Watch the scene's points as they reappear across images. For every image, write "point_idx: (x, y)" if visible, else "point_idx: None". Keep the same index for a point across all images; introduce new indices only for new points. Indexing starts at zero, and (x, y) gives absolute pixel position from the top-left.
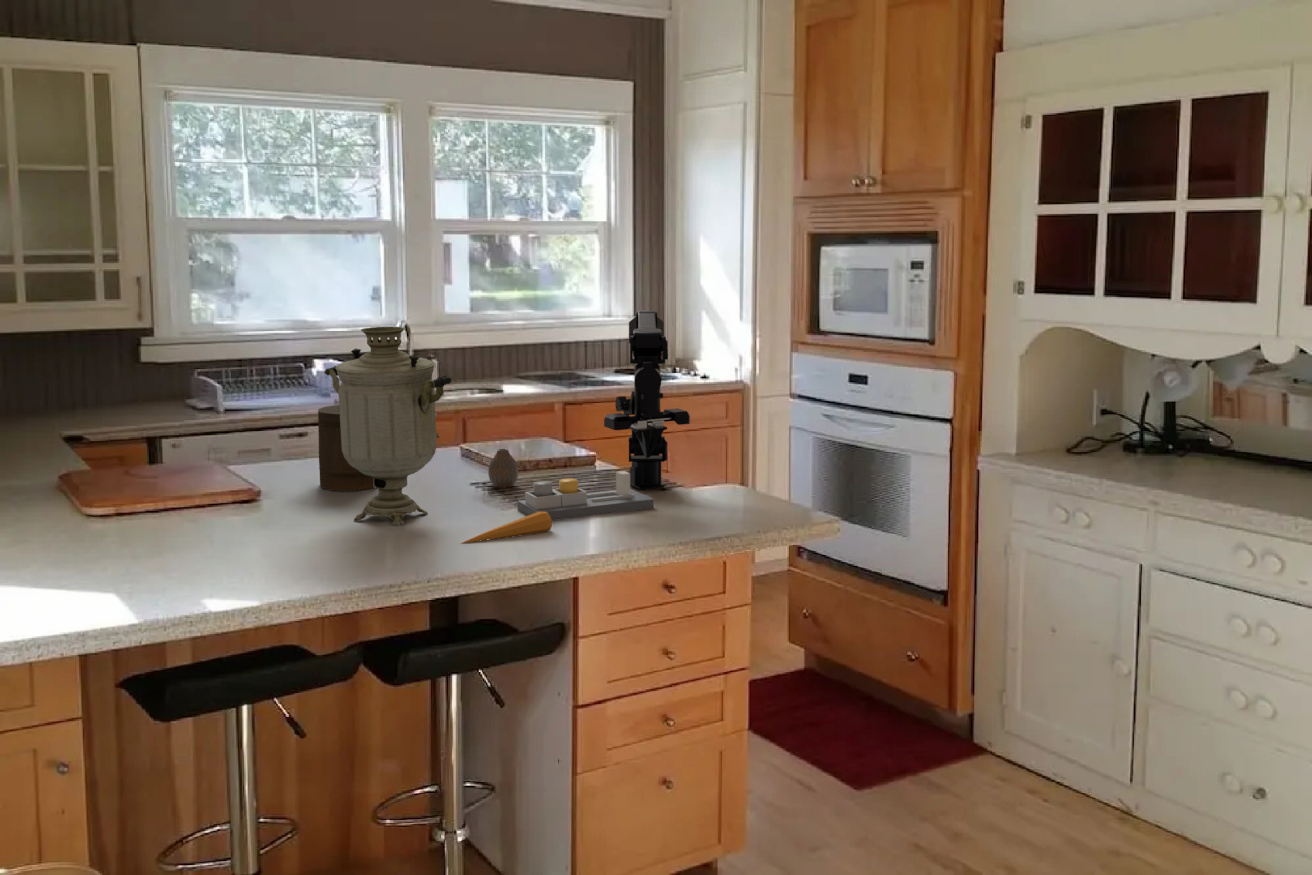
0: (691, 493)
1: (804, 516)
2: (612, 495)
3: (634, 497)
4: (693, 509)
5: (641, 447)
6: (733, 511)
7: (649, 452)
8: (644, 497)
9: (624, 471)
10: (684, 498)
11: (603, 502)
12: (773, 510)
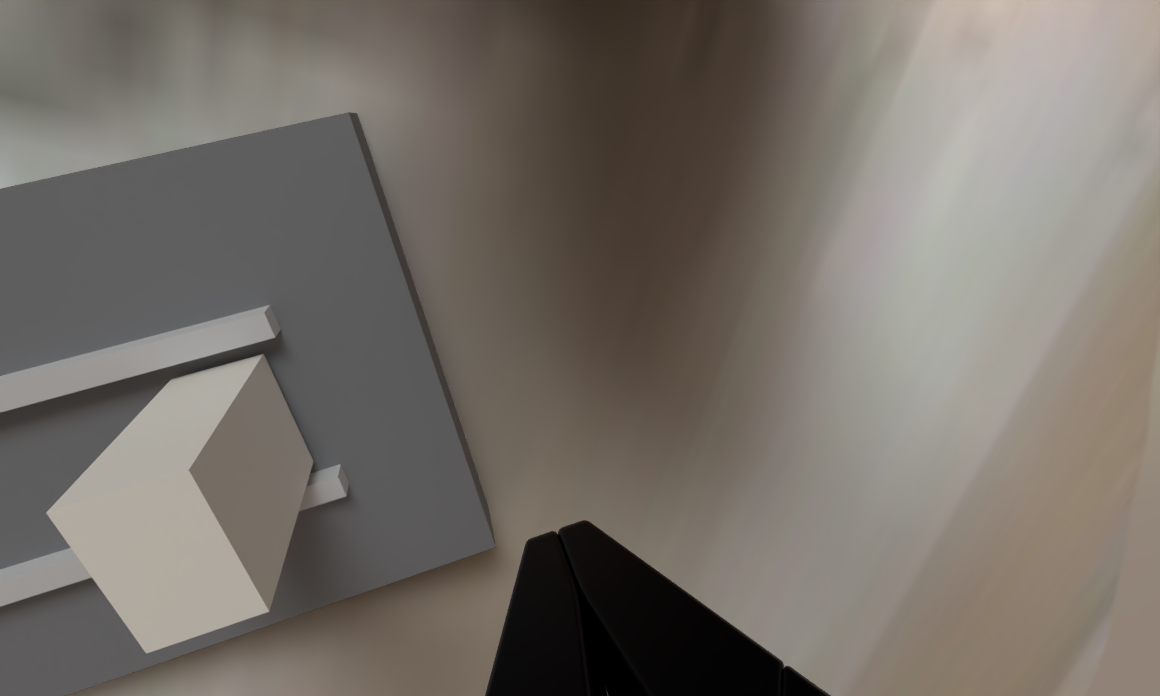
0: (872, 125)
1: (1055, 666)
2: (133, 402)
3: (350, 490)
4: (709, 548)
5: (490, 690)
6: (869, 592)
7: (608, 691)
8: (434, 498)
9: (193, 506)
10: (767, 273)
11: (39, 632)
12: (1021, 581)
